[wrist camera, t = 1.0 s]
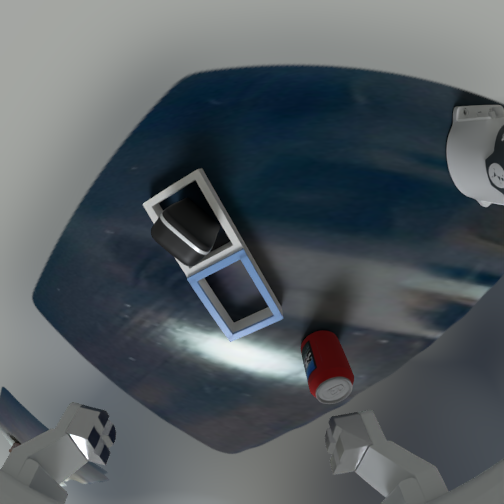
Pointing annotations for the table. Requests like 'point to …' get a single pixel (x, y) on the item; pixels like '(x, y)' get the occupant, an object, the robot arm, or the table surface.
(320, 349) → the beverage can
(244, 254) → the tray
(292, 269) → the table surface
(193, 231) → the battery charger
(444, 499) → the robot arm
